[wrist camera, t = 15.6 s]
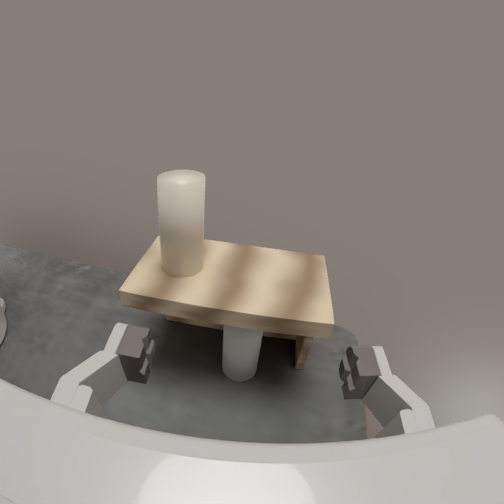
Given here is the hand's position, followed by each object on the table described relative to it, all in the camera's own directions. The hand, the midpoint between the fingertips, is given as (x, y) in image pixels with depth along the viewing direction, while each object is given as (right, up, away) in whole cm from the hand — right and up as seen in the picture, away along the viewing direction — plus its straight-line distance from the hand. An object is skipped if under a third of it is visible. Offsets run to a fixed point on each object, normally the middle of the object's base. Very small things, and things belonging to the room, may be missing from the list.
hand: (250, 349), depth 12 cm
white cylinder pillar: (-2, -12, +27) cm, 29 cm away
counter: (-3, -10, +28) cm, 30 cm away
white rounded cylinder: (-8, +3, +21) cm, 22 cm away
